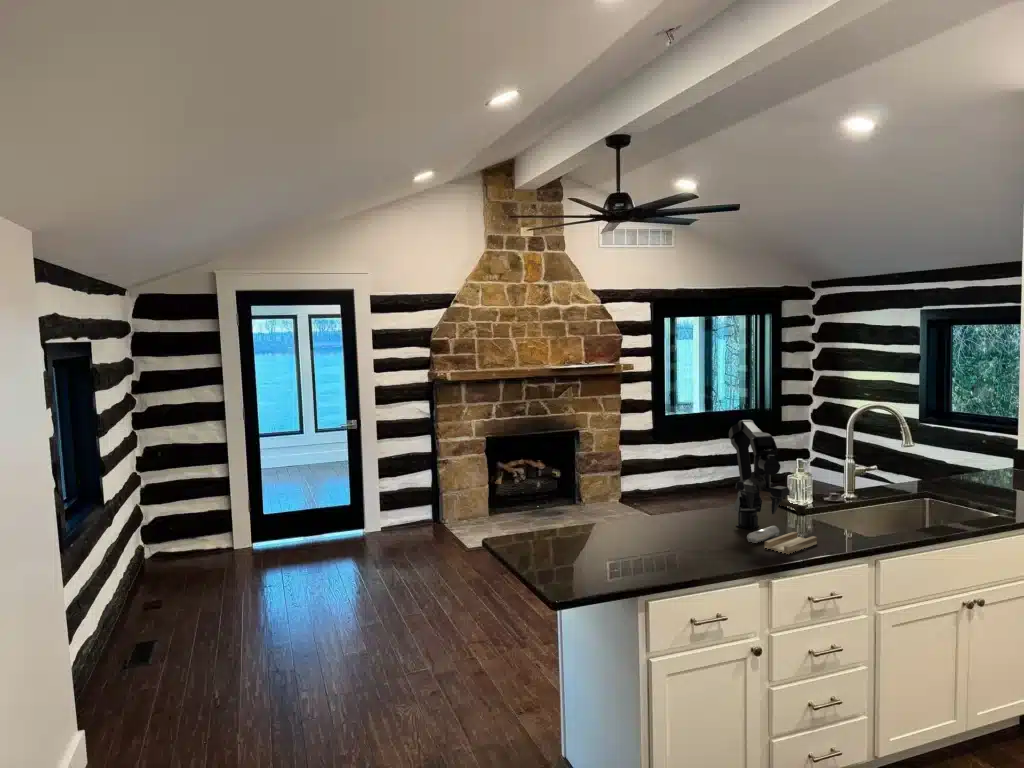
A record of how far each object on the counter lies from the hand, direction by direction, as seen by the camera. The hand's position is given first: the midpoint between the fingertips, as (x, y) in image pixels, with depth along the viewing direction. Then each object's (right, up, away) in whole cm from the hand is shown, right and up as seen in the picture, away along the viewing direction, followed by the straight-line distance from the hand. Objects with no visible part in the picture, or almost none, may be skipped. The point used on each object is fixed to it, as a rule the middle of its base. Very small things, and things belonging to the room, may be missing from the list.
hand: (762, 511), depth 265 cm
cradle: (+7, -11, -8) cm, 15 cm away
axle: (0, -10, +1) cm, 10 cm away
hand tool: (+25, -7, +42) cm, 49 cm away
